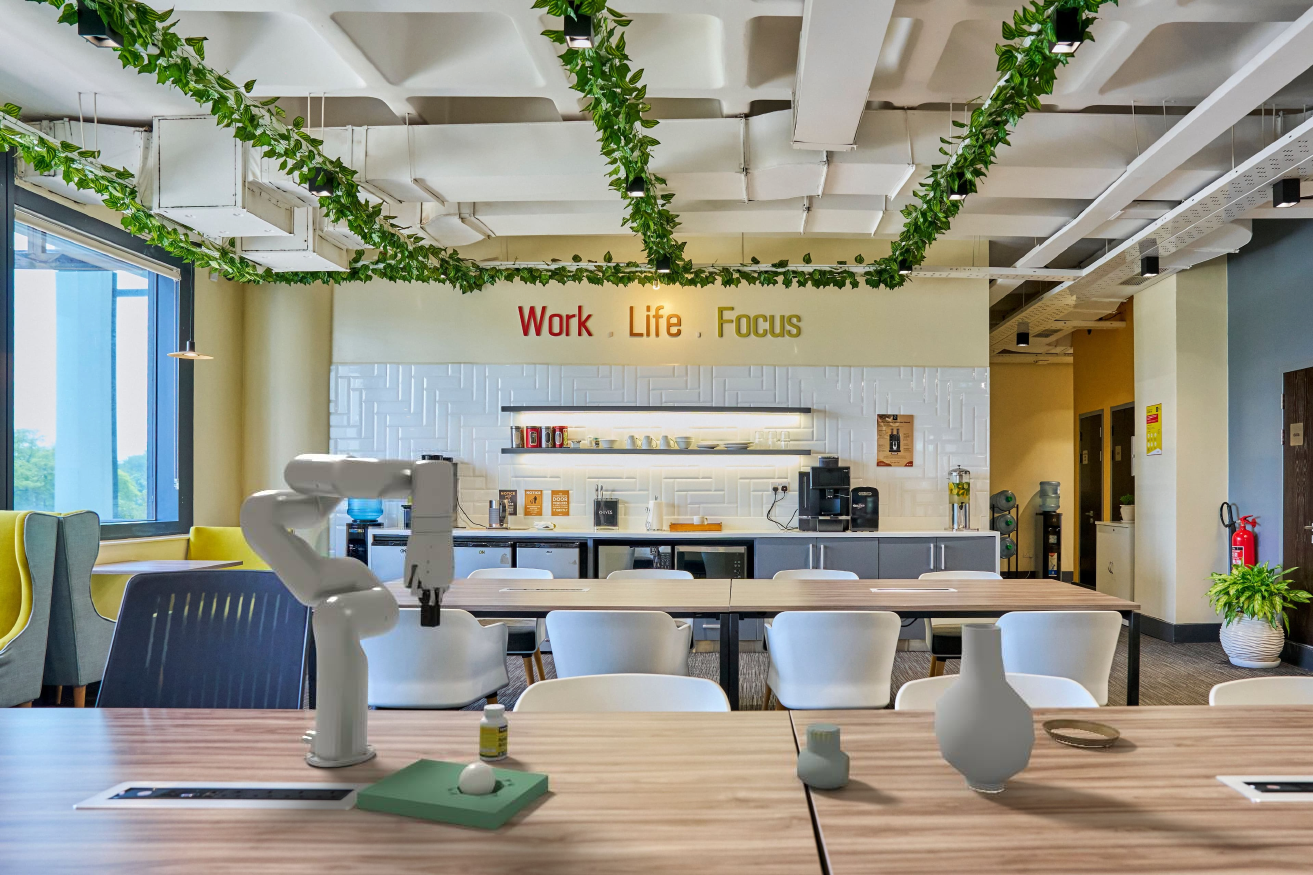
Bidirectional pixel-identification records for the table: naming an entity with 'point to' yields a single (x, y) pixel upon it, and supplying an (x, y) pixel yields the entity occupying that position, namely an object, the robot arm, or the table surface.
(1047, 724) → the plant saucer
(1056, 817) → the table surface
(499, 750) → the supplement bottle
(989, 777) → the vase
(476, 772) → the ball
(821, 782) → the air freshener
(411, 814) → the mat
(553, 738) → the table surface
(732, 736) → the table surface
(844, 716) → the table surface
